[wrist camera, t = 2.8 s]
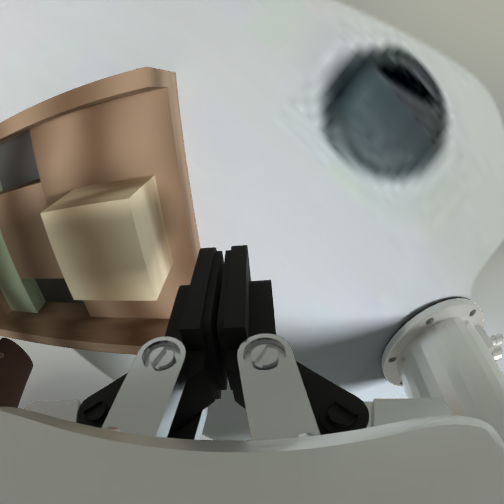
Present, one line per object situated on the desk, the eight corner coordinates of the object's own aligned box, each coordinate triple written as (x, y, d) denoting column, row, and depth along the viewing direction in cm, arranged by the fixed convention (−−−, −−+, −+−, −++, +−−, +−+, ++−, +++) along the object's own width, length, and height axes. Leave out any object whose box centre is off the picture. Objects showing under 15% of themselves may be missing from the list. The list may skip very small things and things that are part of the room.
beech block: (154, 175, 16) (128, 198, 13) (173, 262, 19) (156, 300, 16) (74, 188, 17) (40, 213, 13) (98, 266, 20) (73, 299, 16)
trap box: (175, 72, 15) (146, 66, 11) (212, 310, 24) (204, 357, 20) (-36, 152, 16) (-71, 170, 12) (19, 305, 25) (-3, 334, 21)
